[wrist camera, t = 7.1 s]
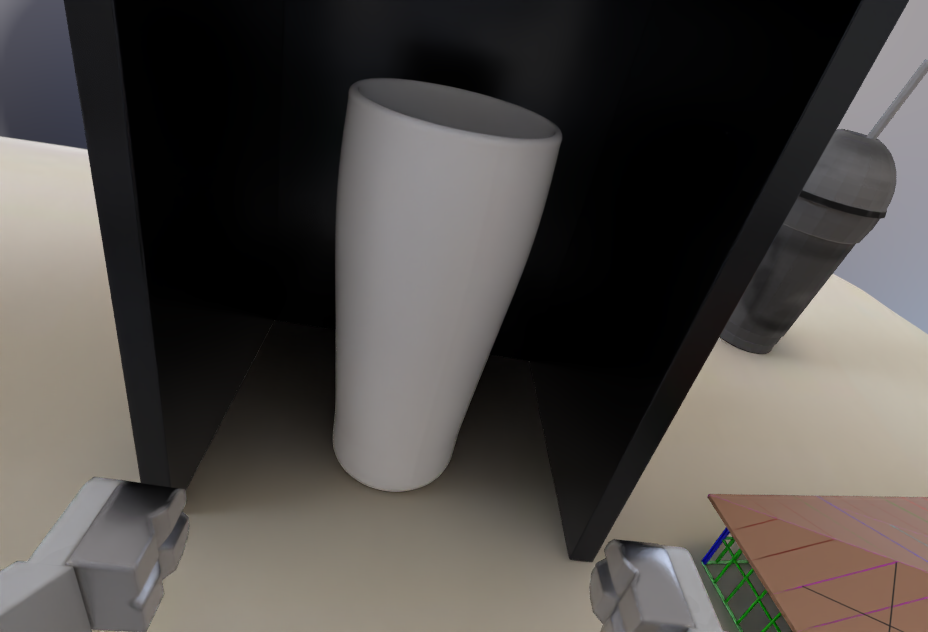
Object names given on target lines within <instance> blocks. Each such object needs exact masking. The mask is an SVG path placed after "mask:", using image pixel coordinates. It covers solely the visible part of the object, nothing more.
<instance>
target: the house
mask: <svg viewBox="0 0 928 632" xmlns="http://www.w3.org/2000/svg"><path fill="white" fill-rule="evenodd" d="M708 499H709V500H710V502H711V503H712V505H713V507H714V508H715V510H716V511H717V513H718V514H719V516H720V518H721V519H722V521H723V522H724V524H725V526H726V528H725V530H724V531H723V532H722V534H721V535H720V536H719V538H718V539H717V540H716V542H715V543H714V544H713V546H712V547H711V549H710V550H709V551H708V553H707V554H706V555H705V557H704V558H703V559H702V561H701V563H702V565H703V567H704V568H705V570H706V572H707V574H708V576H709V577H710V579H711V581H712V583H713V585H714V586H715V588H716V590H717V592H718V594H719V595H720V597H721V599H722V601H723V603H724V604H725V606H726V608H727V610H728V612H729V613H730V615H731V617H732V619H733V621H734V622H735V624H736V626H737V628H738V630H739V631H740V632H743V630H742V628H741V627H740V625H739V623H740V622H741V621H742V620H743V619H744V618H745V617H746V616H747V615H748V613H749V612H750V611H751V610H752V609H753V608H754V607H755V606H756V604H757V603H758V602H759V604H760V605H761V607H762V608H763V610H764V612H765V613H766V615H767V617H768V618H769V620H770V623H769V624H768V625H767V626H766V627H765V628H764V629H763V630H762V631H761V632H766V631H767V630H768V629H769V628H770V627H771V626H772V625H774V626H775V628H776V630H777V631H778V632H781V631H780V629H779V627H778V626H777V624H776V622H775V621H776V620H777V619H778V618H779V617H780V616H781V615H782V616H783V617H784V619H785V620H786V622H787V623H788V625H789V627H790V628H791V630H792V631H793V632H928V497H872V496H802V495H732V494H709V495H708ZM729 533H731V535H732V537H727V536H728V535H729ZM725 540H731V541H730V542H729V543H728V545H727V543H726V541H725ZM735 541H736V543H737V544H738V546H739V548H740V549H739V550H738V551H737V552H736V554H735V555H734V554H733V553H732V551H731V549H730V547H731V546H732V544H733V543H734V542H735ZM722 543H724V545H725V546H726V547H725V549H724V550H723V551H722V553H721V554H720V555H719V557H718V558H717V559H716V561H709V560H710V558H711V557H712V556H713V554H714V553H715V552H716V550H717V549H718V548H719V546H720V545H721V544H722ZM727 551H729V553H730V554H731V556H732V559H731V560H725V561H720V560H721V559H722V557H723V556H724V555H725V553H726V552H727ZM742 552H743V554H744V556H745V557H746V559H747V560H737V559H738V557H739V556H740V555H741V554H742ZM740 563H750V565H751V567H752V569H751V570H750V571H749V572H748V574H747V575H745V574H744V572H743V571H742V569H741V567H740V566H739V564H740ZM706 564H727V565H726V566H725V568H724V569H723V570H722V571H721V573H720V574H719V575H718V577H717V578H716V579H715V580H714V578H713V577H712V575H711V573H710V571H709V569H708V568H707V566H706ZM731 564H736V566H737V567H738V569H739V571H740V572H741V574H742V576H743V577H744V578H743V580H742V581H741V582H740V583H739V584H738V586H737V587H736V588H735V589H734V590H733V592H732V593H731V594H730V595H729V596H728V598H727V599H726V600H725V598H724V596H723V594H722V593H721V591H720V589H719V587H718V585H717V584H716V583H717V582H718V580H719V579H720V578H721V577H722V575H723V574H724V573H725V572H726V570H727V569H728V568H729V566H730V565H731ZM754 571H755V573H756V575H757V576H758V578H759V579H760V581H761V582H762V584H763V586H764V587H765V590H764V591H763V593H762V594H761V595H760V596H759V595H758V593H757V592H756V590H755V588H754V587H753V585H752V583H751V582H750V580H749V579H748V578H749V577H750V575H751V574H752V573H753V572H754ZM745 581H747V582H748V584H749V585H750V587H751V589H752V590H753V592H754V594H755V595H756V597H757V599H756V600H755V602H754V603H753V604H752V605H751V606H750V607H749V608H748V609H747V611H746V612H745V613H744V614H743V615H742V616H741V617H740V619H739V620H738V621H737V619H736V618H735V616H734V614H733V612H732V611H731V609H730V607H729V605H728V601H729V600H730V599H731V598H732V597H733V596H734V594H735V593H736V592H737V591H738V590H739V588H740V587H741V586H742V585H743V584H744V582H745ZM767 592H768V593H769V595H770V597H771V598H772V600H773V601H774V603H775V605H776V606H777V608H778V609H779V611H780V612H779V613H778V614H777V615H776V616H775V617H774V618H773V619H772V618H771V616H770V614H769V613H768V611H767V610H766V608H765V606H764V605H763V603H762V601H761V599H762V598H763V597H764V596H765V594H766V593H767Z"/></svg>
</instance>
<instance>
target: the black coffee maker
mask: <svg viewBox="0 0 928 632" xmlns="http://www.w3.org/2000/svg"><path fill="white" fill-rule="evenodd" d="M908 1H909V0H64V4H65V10H66V17H67V23H68V29H69V36H70V42H71V48H72V55H73V61H74V67H75V73H76V80H77V86H78V92H79V98H80V105H81V111H82V116H83V123H84V130H85V136H86V142H87V148H88V155H89V161H90V167H91V174H92V180H93V186H94V192H95V199H96V205H97V211H98V217H99V224H100V230H101V236H102V242H103V249H104V255H105V261H106V268H107V274H108V280H109V286H110V293H111V299H112V305H113V311H114V318H115V324H116V330H117V336H118V343H119V349H120V355H121V361H122V368H123V374H124V380H125V386H126V393H127V399H128V405H129V412H130V418H131V424H132V430H133V437H134V443H135V449H136V455H137V462H138V468H139V474H140V480H141V483H145V484H152V485H159V486H166V487H173V488H181V489H185V490H186V489H187V487H188V485H189V483H190V481H191V480H192V478H193V476H194V474H195V472H196V470H197V468H198V466H199V464H200V462H201V460H202V458H203V457H204V455H205V453H206V451H207V449H208V447H209V445H210V443H211V441H212V439H213V437H214V435H215V434H216V432H217V430H218V428H219V426H220V424H221V422H222V420H223V418H224V416H225V414H226V412H227V411H228V409H229V407H230V405H231V403H232V401H233V399H234V397H235V395H236V393H237V391H238V389H239V388H240V386H241V384H242V382H243V380H244V378H245V376H246V374H247V372H248V370H249V368H250V366H251V365H252V363H253V361H254V359H255V357H256V355H257V353H258V351H259V349H260V347H261V345H262V343H263V342H264V340H265V338H266V336H267V334H268V332H269V330H270V328H271V326H272V324H273V322H274V320H276V321H283V322H289V323H295V324H301V325H307V326H314V327H320V328H326V329H332V330H335V214H336V195H337V182H338V171H339V161H340V152H341V143H342V136H343V128H344V121H345V115H346V108H347V101H348V92H349V88H350V86H351V85H352V84H353V83H355V82H357V81H359V80H363V79H369V78H396V79H407V80H415V81H423V82H429V83H435V84H440V85H446V86H450V87H455V88H460V89H464V90H468V91H472V92H476V93H480V94H484V95H487V96H491V97H494V98H497V99H500V100H504V101H507V102H510V103H512V104H515V105H518V106H521V107H523V108H526V109H528V110H531V111H533V112H535V113H537V114H539V115H541V116H543V117H545V118H547V119H548V120H550V121H552V122H553V123H554V124H555V125H557V126H558V127H559V129H560V130H561V132H562V142H561V146H560V150H559V154H558V158H557V162H556V166H555V170H554V174H553V178H552V182H551V186H550V190H549V193H548V197H547V201H546V204H545V208H544V211H543V215H542V218H541V221H540V225H539V228H538V231H537V234H536V237H535V240H534V243H533V246H532V249H531V252H530V255H529V257H528V260H527V263H526V265H525V268H524V271H523V273H522V276H521V278H520V281H519V283H518V286H517V288H516V291H515V293H514V296H513V298H512V301H511V303H510V306H509V308H508V311H507V313H506V315H505V318H504V320H503V323H502V325H501V328H500V330H499V333H498V335H497V337H496V340H495V342H494V345H493V347H492V350H491V352H490V355H494V356H500V357H506V358H512V359H518V360H525V361H529V362H530V367H531V372H532V377H533V382H534V387H535V392H536V397H537V402H538V407H539V412H540V416H541V421H542V426H543V431H544V436H545V441H546V446H547V451H548V456H549V461H550V466H551V471H552V476H553V480H554V485H555V490H556V495H557V500H558V505H559V510H560V515H561V520H562V525H563V530H564V535H565V540H566V545H567V549H568V554H569V559H571V560H580V561H589V562H593V560H594V558H595V557H596V555H597V553H598V551H599V550H600V548H601V546H602V544H603V542H604V541H605V539H606V537H607V535H608V534H609V532H610V530H611V528H612V526H613V525H614V523H615V521H616V519H617V518H618V516H619V514H620V512H621V510H622V509H623V507H624V505H625V503H626V502H627V500H628V498H629V496H630V495H631V493H632V491H633V489H634V487H635V486H636V484H637V482H638V480H639V479H640V477H641V475H642V473H643V471H644V470H645V468H646V466H647V464H648V463H649V461H650V459H651V457H652V455H653V454H654V452H655V450H656V448H657V447H658V445H659V443H660V441H661V440H662V438H663V436H664V434H665V432H666V431H667V429H668V427H669V425H670V424H671V422H672V420H673V418H674V416H675V415H676V413H677V411H678V409H679V408H680V406H681V404H682V402H683V401H684V399H685V397H686V395H687V393H688V392H689V390H690V388H691V386H692V385H693V383H694V381H695V379H696V377H697V376H698V374H699V372H700V370H701V369H702V367H703V365H704V363H705V361H706V360H707V358H708V356H709V354H710V353H711V351H712V349H713V347H714V346H715V344H716V342H717V340H718V338H719V337H720V335H721V333H722V331H723V330H724V328H725V326H726V324H727V322H728V321H729V319H730V317H731V315H732V314H733V312H734V310H735V308H736V306H737V305H738V303H739V301H740V299H741V298H742V296H743V294H744V292H745V291H746V289H747V287H748V285H749V283H750V282H751V280H752V278H753V276H754V275H755V273H756V271H757V269H758V267H759V266H760V264H761V262H762V260H763V259H764V257H765V255H766V253H767V251H768V250H769V248H770V246H771V244H772V243H773V241H774V239H775V237H776V236H777V234H778V232H779V230H780V228H781V227H782V225H783V223H784V221H785V220H786V218H787V216H788V214H789V212H790V211H791V209H792V207H793V205H794V204H795V202H796V200H797V198H798V196H799V195H800V193H801V191H802V189H803V188H804V186H805V184H806V182H807V181H808V179H809V177H810V175H811V173H812V172H813V170H814V168H815V166H816V165H817V163H818V161H819V159H820V157H821V156H822V154H823V152H824V150H825V149H826V147H827V145H828V143H829V142H830V140H831V138H832V136H833V134H834V133H835V131H836V129H837V127H838V126H839V124H840V122H841V120H842V118H843V117H844V115H845V113H846V111H847V110H848V108H849V106H850V104H851V102H852V101H853V99H854V97H855V95H856V94H857V92H858V90H859V88H860V87H861V85H862V83H863V81H864V79H865V78H866V76H867V74H868V72H869V71H870V69H871V67H872V65H873V63H874V62H875V60H876V58H877V56H878V54H879V53H880V51H881V49H882V47H883V46H884V44H885V42H886V40H887V39H888V36H889V35H890V33H891V31H892V30H893V28H894V26H895V24H896V22H897V21H898V19H899V17H900V16H901V14H902V12H903V10H904V8H905V7H906V5H907V3H908Z"/></svg>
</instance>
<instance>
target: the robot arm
mask: <svg viewBox="0 0 928 632" xmlns="http://www.w3.org/2000/svg"><path fill="white" fill-rule="evenodd" d="M186 502H187V497H186V490H185V489H181V488H173V487H166V486H159V485H152V484H145V483H137V482H130V481H124V480H116V479H108V478H100V477H93V478H92V479H90V480H89V481H88V482H87V483H85V484H84V485H83V486H82V488H81V489H80V490H79V492H78V493H77V494H76V496H75V497H74V499H73V500H72V501H71V503H70V504H69V505H68V507H67V508H66V509H65V511H64V512H63V513H62V515H61V516H60V518H59V519H58V520H57V522H56V523H55V524H54V526H53V527H52V528H51V530H50V531H49V532H48V534H47V535H46V536H45V538H44V539H43V541H42V542H41V543H40V545H39V546H38V547H37V549H36V550H35V551H34V553H33V554H32V555H31V557H30V558H29V560H28V561H27V562H26V561H16V562H15V563H13V564H11V565H10V566H8V567H6V568H5V569H3V570H1V571H0V632H92V630H108V631H125V632H147V630H148V628H149V626H150V624H151V621H152V619H153V617H154V615H155V613H156V611H157V609H158V607H159V605H160V603H161V600H162V598H163V596H164V588H163V579H164V578H166V577H167V576H169V575H170V574H171V573H173V572H174V571H175V570H176V569H177V566H178V564H179V562H180V560H181V557H182V555H183V552H184V549H185V546H186V542H187V539H188V533H189V517H188V516H187V515H186V514H185V513H184V512H183V511H182V510H183V508H184V506H185V504H186ZM604 552H605V556H606V558H605V559H603V560H601V561H599V562H598V563H596V565H595V567H594V569H593V571H592V573H591V579H590V586H589V588H590V600H591V605H592V610H593V613H594V614H595V615H596V616H597V618H598V619H599V620H600V621H601V623H602V624H603V626H602V628H601V631H600V632H728V631H723V629H722V627H721V624H720V622H719V620H718V617H717V615H716V613H715V610H714V608H713V605H712V603H711V601H710V598H709V596H708V594H707V591H706V589H705V587H704V584H703V582H702V580H701V577H700V575H699V573H698V570H697V568H696V566H695V563H694V561H693V558H692V556H691V554H690V553H689V551H688V550H687V549H686V548H683V547H676V546H666V545H659V544H655V543H645V542H635V541H625V540H616V539H613V540H611V541H610V542H608V544H607V545H606V547H605V549H604Z"/></svg>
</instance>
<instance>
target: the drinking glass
mask: <svg viewBox="0 0 928 632" xmlns="http://www.w3.org/2000/svg"><path fill="white" fill-rule="evenodd" d="M561 142H562V132H561V130H560V129H559V127H558V126H557V125H555V124H554V123H553V122H552V121H550V120H548V119H547V118H545V117H543V116H541V115H539V114H537V113H535V112H533V111H531V110H528V109H526V108H523V107H521V106H518V105H515V104H512V103H510V102H507V101H504V100H500V99H497V98H494V97H491V96H487V95H484V94H480V93H476V92H472V91H468V90H464V89H460V88H455V87H450V86H446V85H440V84H435V83H429V82H423V81H415V80H407V79H396V78H369V79H363V80H359V81H357V82H355V83H353V84H352V85H351V86H350V88H349V92H348V101H347V108H346V115H345V121H344V128H343V136H342V143H341V152H340V161H339V171H338V182H337V195H336V214H335V337H336V381H335V417H334V426H333V448H334V452H335V455H336V457H337V459H338V461H339V463H340V465H341V466H342V467H343V469H344V470H345V471H346V472H347V473H348V474H349V475H350V476H351V477H353V478H354V479H356V480H357V481H359V482H360V483H362V484H364V485H366V486H369V487H371V488H375V489H378V490H383V491H391V492H402V491H409V490H414V489H417V488H420V487H423V486H425V485H427V484H429V483H431V482H432V481H434V480H435V479H436V478H437V477H439V476H440V475H441V473H442V472H443V471H444V470H445V469H446V467H447V465H448V464H449V462H450V459H451V457H452V454H453V450H454V447H455V443H456V440H457V436H458V433H459V430H460V427H461V425H462V422H463V420H464V417H465V415H466V412H467V409H468V407H469V404H470V402H471V399H472V397H473V394H474V392H475V389H476V387H477V384H478V382H479V379H480V377H481V374H482V372H483V369H484V367H485V364H486V362H487V360H488V357H489V355H490V352H491V350H492V347H493V345H494V342H495V340H496V337H497V335H498V333H499V330H500V328H501V325H502V323H503V320H504V318H505V315H506V313H507V311H508V308H509V306H510V303H511V301H512V298H513V296H514V293H515V291H516V288H517V286H518V283H519V281H520V278H521V276H522V273H523V271H524V268H525V265H526V263H527V260H528V257H529V255H530V252H531V249H532V246H533V243H534V240H535V237H536V234H537V231H538V228H539V225H540V221H541V218H542V215H543V211H544V208H545V204H546V201H547V197H548V193H549V190H550V186H551V182H552V178H553V174H554V170H555V166H556V162H557V158H558V154H559V150H560V146H561Z"/></svg>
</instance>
